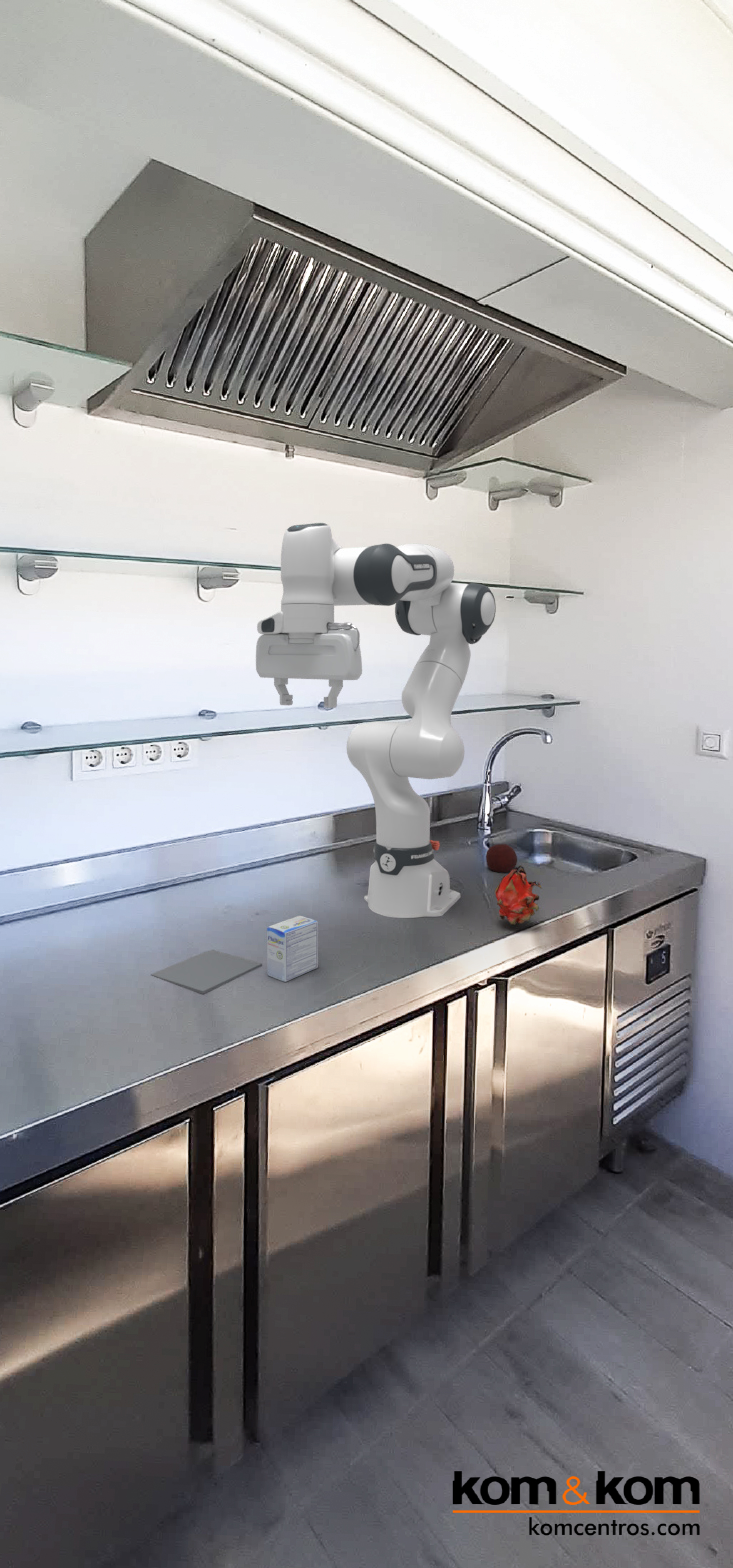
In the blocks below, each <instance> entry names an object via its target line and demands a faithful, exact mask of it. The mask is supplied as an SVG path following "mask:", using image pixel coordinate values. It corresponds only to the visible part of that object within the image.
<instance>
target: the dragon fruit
mask: <svg viewBox="0 0 733 1568" xmlns="http://www.w3.org/2000/svg"><path fill="white" fill-rule="evenodd" d="M534 886H536V887H538V888H539V889H542V885H541V882H539V881H536V880H535V881H532V880H531V881H528V879H527V873H526V870H525V867H524V866H522V865H518V867H516V866H515V867H514V868H513V869H512V870H511V871H509V872H508V874H506V875H504V876H502V878H501V879H500V881H499V884H497V887H496V888H495V890H494V893H495V897H496V900H497V903H496V905H498V906H499V908H500V909H499V910H498V914H499V917H500V920H502V921H503V920H505V917H506V920H507V921H508V922H509V924H510V925H515V926H518V924H524V923H525V921H526V922H529V921H530V920H531V917H532V916H535V914H536V913H535V912H538V911H539V909H540V907H539V905H538V903H535V901H539V900H540V896H539V895H538V894H537V893H533V888H534Z"/></svg>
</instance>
